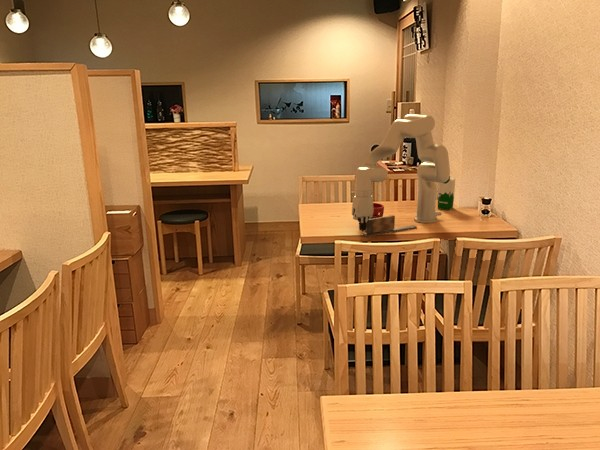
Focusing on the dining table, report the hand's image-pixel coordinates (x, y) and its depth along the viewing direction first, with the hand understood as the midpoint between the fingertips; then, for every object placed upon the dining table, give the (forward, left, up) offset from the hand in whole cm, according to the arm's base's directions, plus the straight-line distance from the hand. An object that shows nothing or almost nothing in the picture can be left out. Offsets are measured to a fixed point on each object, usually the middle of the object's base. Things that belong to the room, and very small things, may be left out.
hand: (362, 229), depth 243 cm
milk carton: (-75, -23, -4) cm, 78 cm away
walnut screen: (-11, 0, -2) cm, 11 cm away
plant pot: (-14, -13, -4) cm, 19 cm away
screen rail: (-17, 0, -4) cm, 17 cm away
